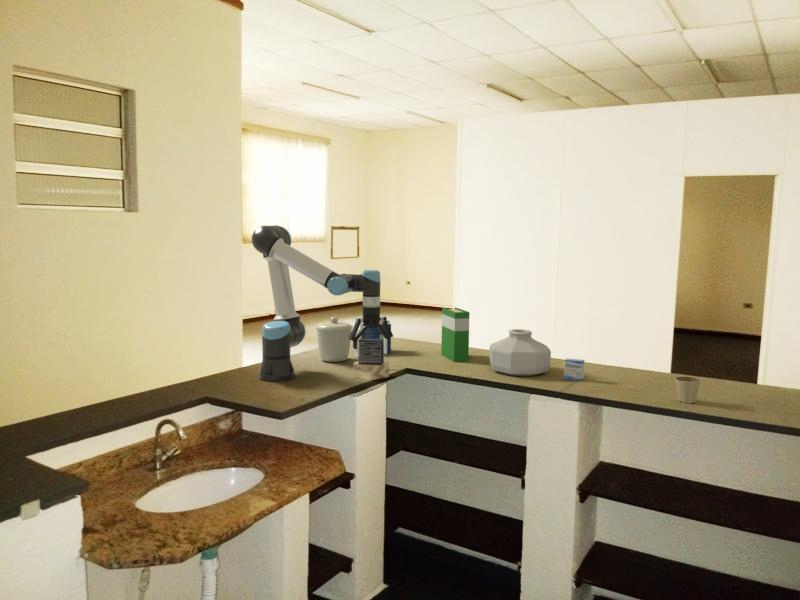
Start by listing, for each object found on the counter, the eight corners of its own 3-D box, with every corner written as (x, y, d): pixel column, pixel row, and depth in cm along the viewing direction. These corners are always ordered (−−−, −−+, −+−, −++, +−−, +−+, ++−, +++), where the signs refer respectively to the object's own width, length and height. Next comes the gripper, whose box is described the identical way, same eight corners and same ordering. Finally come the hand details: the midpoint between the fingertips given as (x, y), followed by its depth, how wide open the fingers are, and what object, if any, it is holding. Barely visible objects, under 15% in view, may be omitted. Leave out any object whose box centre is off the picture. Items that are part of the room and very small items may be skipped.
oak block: (370, 381, 275) (370, 367, 274) (353, 375, 283) (353, 362, 283) (388, 377, 281) (388, 363, 280) (371, 372, 290) (371, 359, 289)
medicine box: (563, 379, 280) (564, 359, 279) (565, 377, 284) (565, 357, 283) (582, 381, 277) (583, 361, 276) (583, 379, 281) (584, 359, 280)
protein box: (359, 350, 339) (360, 320, 337) (389, 349, 341) (389, 320, 339) (360, 354, 329) (361, 323, 327) (391, 353, 330) (391, 323, 329)
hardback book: (441, 354, 329) (442, 307, 326) (454, 354, 331) (456, 307, 328) (454, 362, 312) (455, 312, 309) (468, 361, 314) (469, 312, 312)
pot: (479, 374, 288) (480, 332, 286) (498, 362, 313) (499, 324, 311) (542, 381, 276) (544, 338, 274) (556, 368, 301) (558, 328, 299)
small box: (384, 361, 284) (384, 338, 283) (382, 365, 278) (382, 340, 277) (360, 361, 285) (360, 337, 284) (357, 364, 279) (358, 340, 277)
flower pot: (679, 404, 242) (681, 382, 241) (669, 397, 252) (670, 376, 251) (704, 404, 242) (706, 382, 241) (693, 398, 252) (694, 376, 251)
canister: (307, 360, 313) (307, 316, 310) (334, 354, 326) (334, 313, 324) (333, 365, 301) (333, 320, 299) (360, 359, 315) (360, 316, 312)
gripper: (348, 308, 269) (348, 359, 272) (401, 305, 282) (400, 353, 284) (341, 306, 276) (341, 355, 278) (392, 303, 288) (392, 350, 291)
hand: (371, 354), depth 281 cm, fingers open, 13 cm apart
